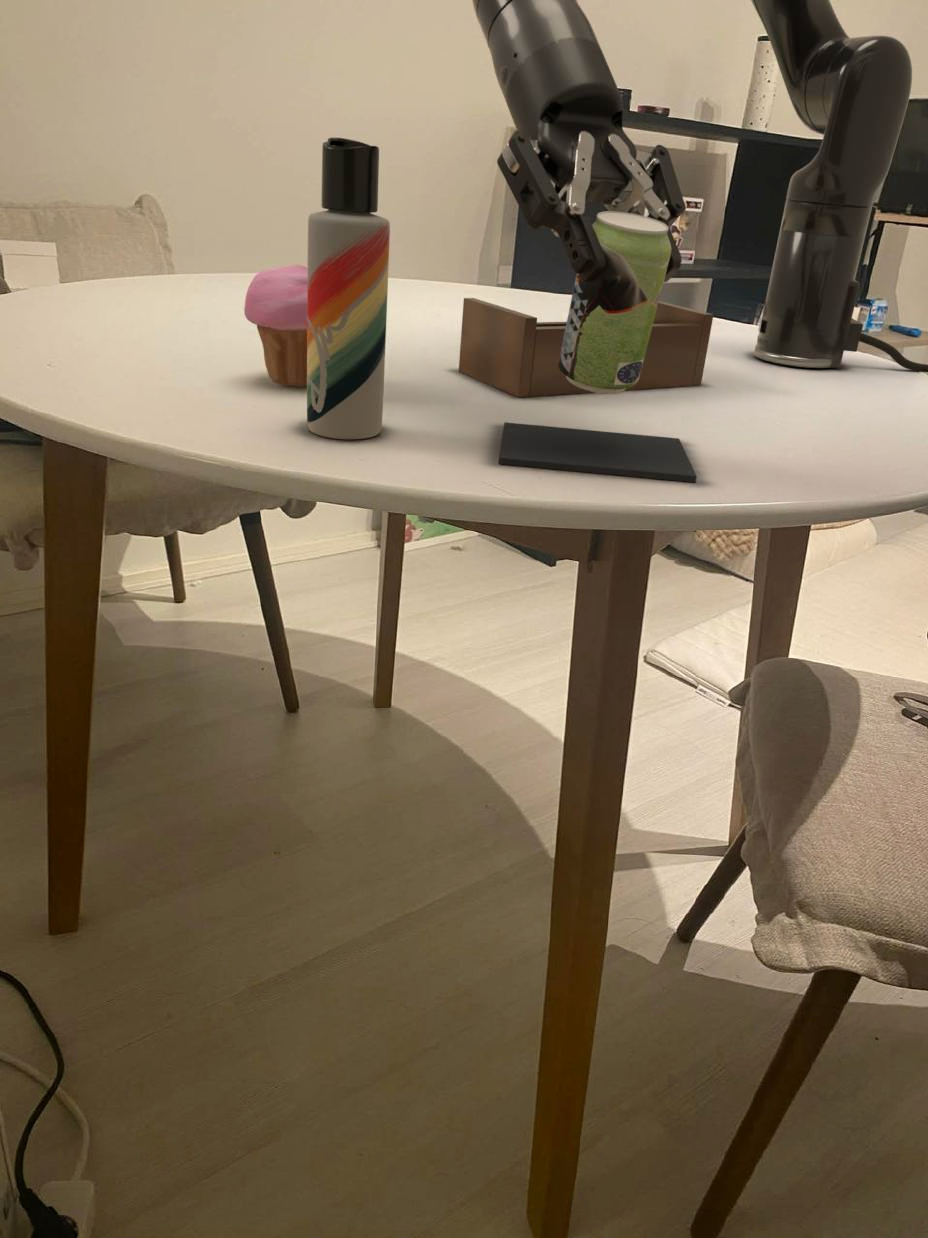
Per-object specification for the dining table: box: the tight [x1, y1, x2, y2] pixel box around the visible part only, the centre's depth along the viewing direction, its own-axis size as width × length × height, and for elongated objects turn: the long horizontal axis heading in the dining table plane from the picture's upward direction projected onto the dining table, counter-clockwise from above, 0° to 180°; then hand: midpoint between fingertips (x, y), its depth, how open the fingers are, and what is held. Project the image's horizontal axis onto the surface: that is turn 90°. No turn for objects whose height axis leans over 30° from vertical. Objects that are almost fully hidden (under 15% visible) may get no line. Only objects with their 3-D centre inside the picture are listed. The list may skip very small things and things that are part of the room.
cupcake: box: [243, 264, 308, 387], centre depth 85 cm, size 9×9×10 cm
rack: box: [458, 297, 714, 398], centre depth 97 cm, size 11×22×7 cm, turn 121°
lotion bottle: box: [306, 137, 391, 440], centre depth 70 cm, size 6×6×20 cm
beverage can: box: [558, 210, 671, 395], centre depth 69 cm, size 6×7×12 cm
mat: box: [498, 421, 698, 483], centre depth 74 cm, size 14×10×1 cm
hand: (633, 273), depth 67 cm, fingers closed on beverage can, 6 cm apart
